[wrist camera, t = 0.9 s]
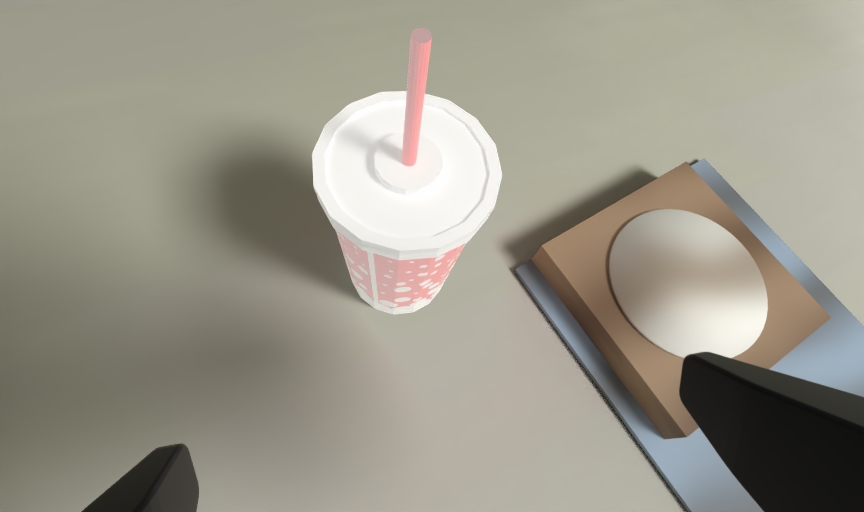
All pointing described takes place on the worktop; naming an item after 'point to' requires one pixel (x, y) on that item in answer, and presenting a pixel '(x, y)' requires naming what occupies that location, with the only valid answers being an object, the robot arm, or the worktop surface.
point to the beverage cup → (405, 187)
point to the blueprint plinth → (688, 315)
